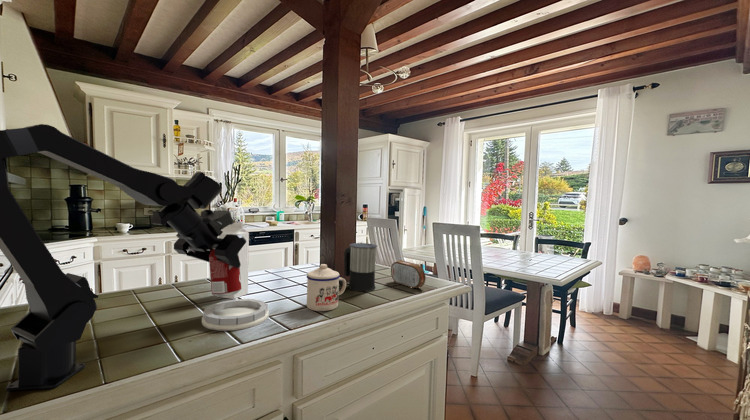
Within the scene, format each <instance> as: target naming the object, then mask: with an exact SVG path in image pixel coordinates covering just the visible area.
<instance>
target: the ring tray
mask: <svg viewBox="0 0 750 420" xmlns="http://www.w3.org/2000/svg"><path fill="white" fill-rule="evenodd" d="M269 317H270V311H269V306H268V304H267V303H266V302H265V301H263V300H260V299H255V298H254V299H253V298H238V299H237V298H236V299H230V300H225V301H224V300H223V301H220V302H217V303H214V304H211V305H209V306H207V307H206V308H205V309H204V310H203V315H202V317H201V325H202V326H203V327H204V328H206V329H208V330H212V331H218V332H220V331H221V332H223V331H225V332H227V331H228V332H229V331H239V330H244V329H248V328H252V327H255V326H258V325H260V324H263V323H264V322H266V321H267V320H268V319H269Z"/></svg>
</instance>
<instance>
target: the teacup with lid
mask: <svg viewBox="0 0 750 420" xmlns="http://www.w3.org/2000/svg"><path fill="white" fill-rule="evenodd" d="M306 279H307V280H306V281H307V282H306V283H307V285H306V286H307V287H306V307H307V309H309V310H311V311H316V312H326V311H327V312H328V311H333V310H334V309H337V308H338V307H339V296H340V295H342V294H343V293H344V292H345V290H346V288H347V285H346V283H347V281H346V279H345V278H343V277H340V273H339V272H338V271H336V270H333V269H332V268H329V267H328V265H327V263H326V264H325V263H321V264H320V265H319V267H317V268H315V269H314V270H311V271H309V272H307V274H306ZM339 280H341V281H343V286H342V289H341V290H340V291H339V288H340V287H339V286H340V284H339ZM338 291H339V292H338Z"/></svg>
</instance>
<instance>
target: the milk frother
mask: <svg viewBox="0 0 750 420" xmlns="http://www.w3.org/2000/svg"><path fill="white" fill-rule="evenodd" d="M377 247H378V245H377V244H373V243H365V242H358V243H357V242H356V243H355V242H354V243H350V244H349V246H348V247H346V248H345V250H344V254H343V256H344V257H343V263H344V269H343V270H344V276H345V277H349V282H348V283H347V282H346V286H348V289H349V290H352V291H354V292H355V291H356V292H370V291H373V290H375V289H376V283H375V281H376V278H375V277H376V276H375V275H376V258H377V257H376V256H377ZM339 286H341V287H339V291H340V290H341V289H342V286H343V281H342V280H339ZM339 291H338V292H339Z"/></svg>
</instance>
